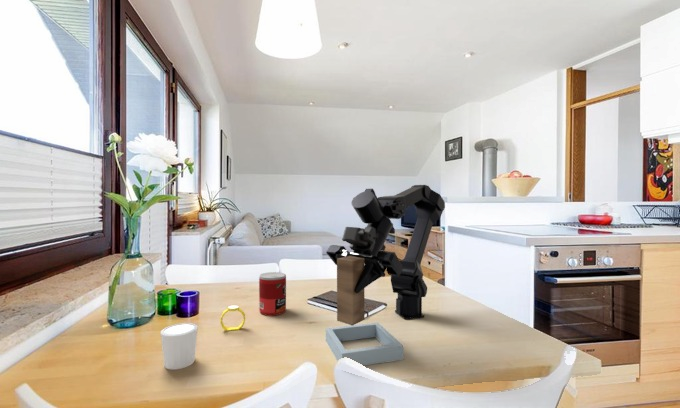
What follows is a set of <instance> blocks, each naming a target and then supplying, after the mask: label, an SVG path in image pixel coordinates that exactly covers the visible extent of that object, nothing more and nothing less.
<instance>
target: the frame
mask: <svg viewBox="0 0 680 408" xmlns="http://www.w3.org/2000/svg"><path fill="white" fill-rule="evenodd" d="M370 338H376V339H377V340H378V341H379V342H380V344H382V345H376V346H368V347H360V348H354V349H353V348H352V349H346V348H345V347H344V345H343V344H342V342H344V341H352V340H353V341H354V340H359V339H370ZM325 342H326V344H327V346H328V347H329V349H330V351H331V353H332V354H333V355H334V358H335V360H336V361H337V362H338V360H339V359H341V358H344V357H347V358H350V359H352V360H354V361H356V362H358V363H360V364H362V365H364V366H370V365H375V364H383V363H388V362H389V363H390V362H397V361H403V360H404V344H403V343H402V342H400V341H399V340H398V339H397V338H396V337H394V336H393V334H391V332H389V331H388V330H387V329H386V328H385V327H384V326H383V325H382V324H380V322H370V323H359V324H355V325H353V326H352V325H344V326H343V325H342V326H334V327H333V326H332V327H327V328H325Z"/></svg>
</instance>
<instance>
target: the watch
mask: <svg viewBox="0 0 680 408" xmlns="http://www.w3.org/2000/svg"><path fill="white" fill-rule="evenodd" d="M237 311H238V312H240V313H241V315H242V317H243V320H242V322H241V324H239V326H237V327H236V326H235V327H234V326H233V327H227V326H226V325H225V324H224V322H223V318H224V316H225V314H226V313H229V312H237ZM245 322H246V313H245V312H244V311H243V309H242V308H240V306H239V305H233V304H232V305H229V306H228V307H227V309H225V310H223V312H222V314H221V316H220V325H221V327H222V329H224V330H225V331H226V332H229V331H230V332H231V331H239V330H240V329H242V327H243V326H244V324H245Z"/></svg>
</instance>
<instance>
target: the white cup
mask: <svg viewBox="0 0 680 408" xmlns="http://www.w3.org/2000/svg"><path fill="white" fill-rule="evenodd" d="M198 327H199V326H198V325H197V324H195V323H193V322H192V323H191V322H184V323H183V322H182V323H176V324H172V325H169V326H166V327H164V328H163V329H162V330H160V338H161V339H160V340H161V347H162V350H161V351H162V359H163V366H164V369H167V370H182V369H184V368H188V367H189V366H191V365H192V364H194V362H195V361H196V360H195V359H196V348H197V340H198V329H199V328H198Z"/></svg>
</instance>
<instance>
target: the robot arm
mask: <svg viewBox="0 0 680 408" xmlns="http://www.w3.org/2000/svg"><path fill="white" fill-rule="evenodd" d="M445 204H446V203H445V200H444V199H443V197H442V196H441V194H440V193H438V192H436V191H434V190H432V189H431V187H430V186H429V185H427V184H415V185H414V184H413V185H412V186H411V187H409V188H407V189H405V190H403V191H401V192H399V193H397V194H395V195H384V196H379V197H377V194H376V191H375V190H374V188H365V190H364V191H362V192H360V193H358V194H357V195H355V196H354V197H353V198H352V200H351V206H352V207H353V209H354V211H355V212H356V214H357V216H358V217H359V219H360V221H362V223H364V224H367V225H366V226H365V227H363V228H361V227H356V226H355V227H354V226H345V229H344V231H343V235H342V238H341V240H342V242H346V243H348V244H350V245H349V246H348V247H349V249H350V250H352V251H353V252H351V251H349V250H347V248H346V247H345V246H344V245H337V244H331V245H329V247H328V248H327V250H326V252H325V253H326V254H327V256H328V257H329V258H330V260H331V261H332V262H333V263H334V265H336V266H337V259H338V258H342V257H347V256H352V257H359V258H364V270H363V272H362V274H361V276H360V278H359V280H358V282H357V284H356V287H355V290H354V291H355V293H359V292H360V291H361V290H363V289H364V290H365V289H366V288H367V287H368V286H370V285H371V284H372V283H373V282H375V281H377V280H379V279H380V278H384V277H385V276H386V273H387V275H389V276H390V283H391V288H392V293H395V294H397V297H396V298H395V310H394V312H395V313H396V314H397V315H398V316H399V317H401V318H403V320H410V319H411V320H412V319H419V318H425V314H424V313H423V312H422V309H423V308H422V307H423V306H422V305H423V304H422V303H423V301H422V300H423V298H425V297H426V296H427V293H428V286H427V284H426V283H425V280H424V279H423V277H424V272H423V269H422V267H421V265H422V264H421V263H422V261H423V258H424V257H423V256H424V254H425V251H426V248H427V244H428V242H429V238H430V235H431V231H432V228H433V224H435V223H436V222H437V221H439V220H440V218H441V216H442V214H443V212H444V210H445V208H446V205H445ZM411 206H414V207H415V209H414V210H415V213H416V216H417V219H416V222H415V225H414V229H413V231H412V235H411V237H410V239H409V243H408V247H407V249H406V252H405V255H404V257H403V258H402V259H401V260H400V259H399V258H398V256H397V254H396V253H395V252H394V251H387V250H386V245H385V242H386V240H387V238H388V236H389V234H392V235H393V234H395V233H396V229H395V227H394V224H393V222H392V220H399V219H401V218H403V216H405V215H406V213H407V209H408V208H409V207H411ZM385 272H386V273H385Z"/></svg>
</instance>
